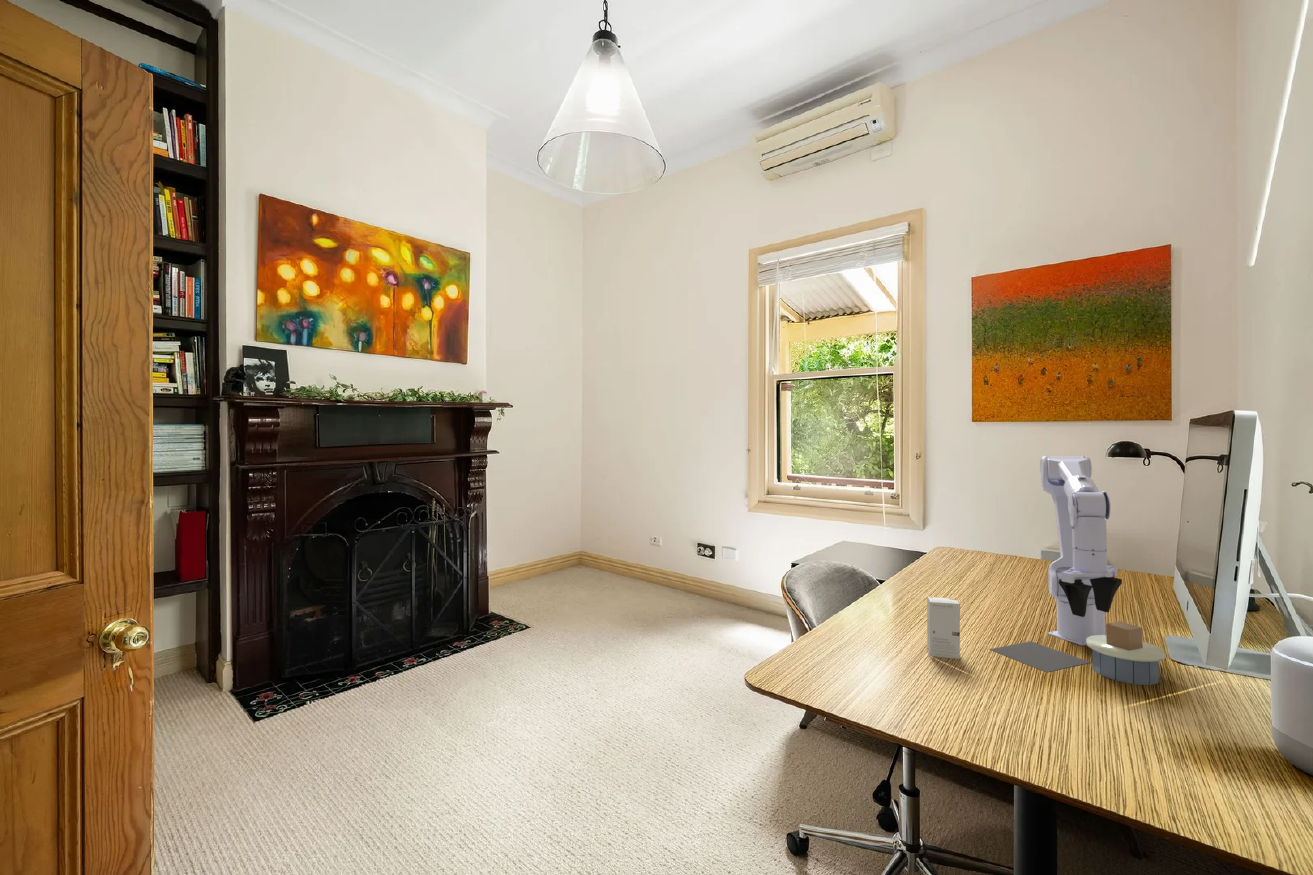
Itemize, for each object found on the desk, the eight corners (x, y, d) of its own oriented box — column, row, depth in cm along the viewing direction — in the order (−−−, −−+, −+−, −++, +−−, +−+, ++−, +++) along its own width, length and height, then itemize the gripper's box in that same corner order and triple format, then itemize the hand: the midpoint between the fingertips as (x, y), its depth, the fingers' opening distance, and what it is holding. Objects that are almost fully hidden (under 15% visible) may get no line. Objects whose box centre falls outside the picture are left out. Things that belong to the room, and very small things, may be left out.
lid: (1111, 635, 118) (1111, 613, 118) (1180, 656, 107) (1179, 631, 107) (1072, 643, 114) (1071, 620, 114) (1138, 665, 103) (1138, 639, 103)
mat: (1031, 642, 128) (1031, 641, 128) (1091, 663, 116) (1091, 662, 116) (989, 650, 124) (989, 649, 124) (1046, 673, 112) (1046, 672, 112)
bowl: (1114, 661, 117) (1113, 637, 117) (1171, 680, 107) (1170, 655, 107) (1081, 668, 114) (1080, 644, 114) (1137, 689, 104) (1136, 662, 104)
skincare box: (930, 657, 121) (928, 601, 121) (926, 649, 125) (925, 596, 125) (961, 660, 119) (960, 603, 119) (957, 652, 124) (955, 597, 124)
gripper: (1086, 555, 111) (1088, 623, 111) (1133, 549, 116) (1134, 614, 116) (1050, 548, 117) (1052, 613, 117) (1096, 543, 122) (1098, 605, 122)
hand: (1090, 613), depth 117 cm, fingers open, 7 cm apart
